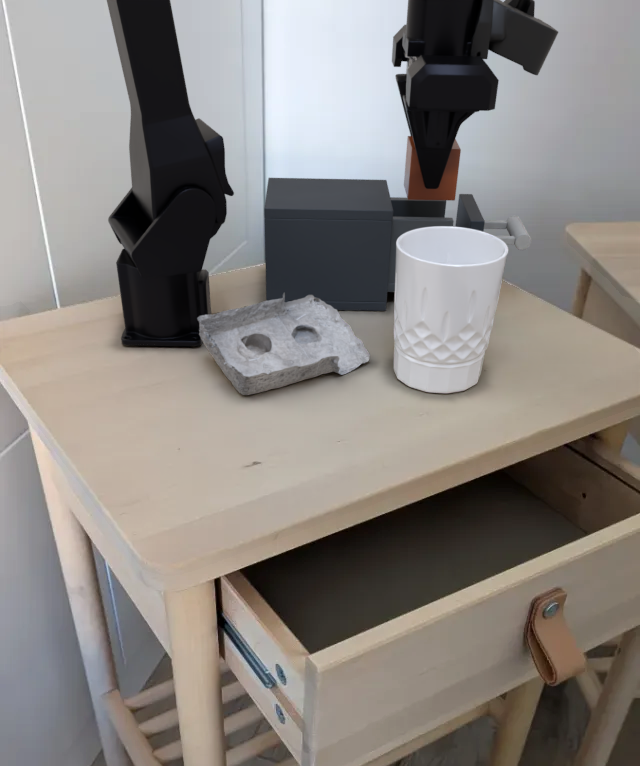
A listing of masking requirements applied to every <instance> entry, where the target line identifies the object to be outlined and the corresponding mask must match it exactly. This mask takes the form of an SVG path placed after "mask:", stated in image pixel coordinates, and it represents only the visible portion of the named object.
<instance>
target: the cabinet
mask: <svg viewBox="0 0 640 766" xmlns="http://www.w3.org/2000/svg"><path fill="white" fill-rule="evenodd" d="M266 186H267V187H266V194H265V201H264V207H263V212H264V213H263V216H264V258H265V259H264V261H265V301H269V300H274V299H281V298H283V294H284V292H285V300H284V302H288V301H293V300H298V299H301V298H305V297H306V296H308V295H313V296H314V297H316V298H319V299H320V300H321V301H324V302H325V303H326V304H328V305H331V306H332V307H333V308H334V309H336V310H337V311H370V312H371V311H374V312H377V311H379V312H386V311H387V302H388V292H387V291H388V277H389V263H390V249H391V236H392V222H393V221H392V220H393V208H392V203H391V198H390V197H391V194H390V190H389V185H388V181H387V179H363V178H362V179H361V178H360V179H358V178H355V179H354V178H349V179H348V178H347V179H346V178H308V177H307V178H305V177H303V178H302V177H300V178H299V177H268V179H267V185H266Z"/></svg>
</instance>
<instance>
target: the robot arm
mask: <svg viewBox="0 0 640 766" xmlns="http://www.w3.org/2000/svg"><path fill="white" fill-rule="evenodd" d="M106 3H107V9H108V12H109V17H110V21H111V26H112V31H113V34H114V39H115V43H116V47H117V48H116V49H117V52H118V56H119V60H120V65H121V69H122V75H123V78H124V83H125V88H126V91H127V95H128V101H129V105H130V120H129V121H130V122H129V143H128V150H129V151H128V153H129V166H130V179H131V187H130V189H129V190H128V191H127V193H126V194H125V196H124V197H123V198H122V200H121V201H120V202H119V203H118V204H117V206H116V207H115V208H114V210H113V211H112V212H111V214H110V215H109V216H108V219H107V221H108V224H109V226H110V228H111V230H112V232H113V234H114V236H115V238H116V240H117V242H118V243H119V244H120V245H121V246H122V249H121V252H120V253H119V255H118V258H117V260H116V262H115V264H116V272H117V278H118V286H119V293H120V294H119V295H120V301H121V309H122V316H123V323H124V330H123V331H122V334H121V337H120V342H121V345H123V346H150V347H151V346H152V347H153V346H155V347H161V346H163V347H199V346H201V345H202V344H203V341H202V340H201V337H200V335H199V330H200V329H199V328H200V327H199V321H198V319H197V318H198V317H199V316H202V315H211V314H212V304H211V303H212V301H211V288H210V272H209V271H208V270H207V269H203V266H204V263H205V259H206V256H207V252H208V248H209V245H210V241H211V239H212V238H213V237H215V236H216V235H217V233H218V232H219V230H220V228H221V227H222V225H224V224H225V222H226V219H227V213H228V207H227V203H228V202H227V198H226V195H227V196H229V197H233V196H234V195H235V192H234V189H233V188H232V187H231V185H230V183H229V180H228V176H227V173H226V150H225V149H226V148H225V141H224V137H223V136H222V135H220V133H218V132H217V131H216V130H215V129H213V128H212V127H211V126H210V125H208V124H207V123H206V122H205V121H203V120H202V118H198V117H197V118H195V116H194V112H193V111H192V107H191V104H190V100H189V94H188V90H187V84H186V79H185V74H184V68H183V63H182V62H183V61H182V57H181V52H180V45H179V40H178V34H177V29H176V25H175V19H174V14H173V8H172V3H171V0H106ZM535 7H536V2H535V0H504V1H503V0H407V10H406V11H407V12H406V24H404V25H403V26H402V27H401V28H400V29H398V31H397V32H396V33H395V34H394V35H393V36H392V38H393V39H392V50H391V63H392V66H393V67H394V68H401V67H402V63H403V62H406V67H405V73H397V74H395V81H396V84H397V89H398V92H399V96H400V100H401V105H402V108H403V111H404V112H403V113H404V115H405V120H406V124H407V127H408V131H409V136H412V137H413V141H414V145H415V149H416V153H417V157H418V161H419V165H420V169H421V173H422V177H423V181H424V185H425V188H427V189H437V188H438V187H439V185H440V182H441V179H442V176H443V173H444V170H445V167H446V164H447V161H448V158H449V155H450V152H451V149H452V147H453V144H454V141H455V139H456V138H457V136H458V132H459V130H460V127H461V126H462V124H463V123H464V122H465V121H466V120H468V119H469V118H471V116H473V115H474V114H475V113H479V112H480V111H481V112H489V111H491V110H492V111H494V110H496V104H497V103H496V102H497V97H498V89H499V81H500V80H499V79H498V77H497V76H496V75H495V73H494V72H493V70H492V69H491V68H490V66H489V65H488V64H487V63H486V61H485V60H488V58H489V57H488V56H489V51H490V52H492V53H494V54H495V55H498V56H500V57H502V58H505V59H506V60H508V61H511V62H512V63H515V64H517V65H518V66H521V67H522V69H523V71H525V72H526V73H529V74H531V75H535V76H539V74H540V71H541V70H542V67H543V66H544V63H545V61H546V60H547V57H548V55H549V53H550V51H551V50H552V49H551V48H552V47H553V44H554V43H555V41H556V38H557V36H558V34H559V31H558V30H557V29H556V28H554V27H553V26H551V24H549V23H546V22H545V21H543V20H541V18H537V17H535Z"/></svg>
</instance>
